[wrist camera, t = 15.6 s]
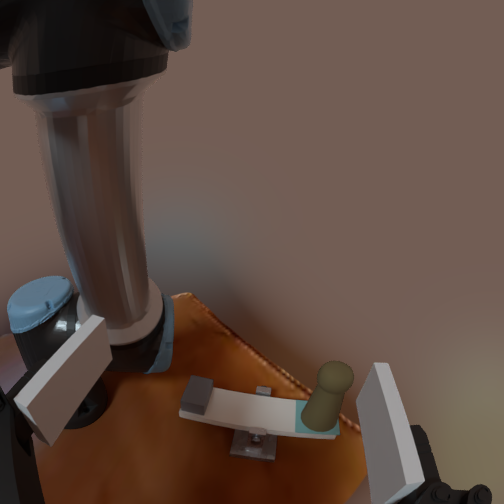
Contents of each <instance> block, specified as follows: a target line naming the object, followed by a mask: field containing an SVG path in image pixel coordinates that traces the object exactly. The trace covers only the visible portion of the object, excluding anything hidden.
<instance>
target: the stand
mask: <svg viewBox="0 0 504 504" xmlns="http://www.w3.org/2000/svg"><path fill="white" fill-rule="evenodd" d="M270 394H271V388H267V387H266V386H261V387H260V386H257V389H256V395H259V396H266V397H270ZM276 444H277V435H273V434H266V429H263V428H256V427H250V430H249V431H245V430H239V429H235V432H234V437H233V441H232V445H231V450H230V455H229V456H232V457H238V458H244V459H250V460H257V461H265V462H274V461H275V454H276Z"/></svg>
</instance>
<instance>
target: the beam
mask: <svg viewBox="0 0 504 504" xmlns="http://www.w3.org/2000/svg"><path fill="white" fill-rule="evenodd" d="M307 402H308V401H303V400H290V399H281V398H274V397H266V396H259V395H253V394H247V393H241V392H235V391H229V390H224V389H219V388H214V387H213V379H208V378H203V377H199V376H194V375H191V377H190V380H189V382H188V384H187V387H186V389H185V391H184V394H183V396H182V398H181V409H180V411H179V417H182V418H186V419H190V420H195V421H199V422H203V423H208V424H213V425H217V426H223V427H228V428H233V429H239V430H245V431H249V430H250V427H256V428H263V429H266V434H273V435H282V436H292V437H303V438H318V439H335V437H336V436H337V435H340V429H339V419H338V420H337V424H336V426H335V427H334V428H333V429H331V430H329V431H326V432H316V431H313V430H310V429H309V428H307V427H306V426H305V425H304V424H303V423H302V420H301V412H302V410H303V409H304V407H305V405H306V404H307Z"/></svg>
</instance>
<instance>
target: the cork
mask: <svg viewBox="0 0 504 504" xmlns="http://www.w3.org/2000/svg"><path fill="white" fill-rule="evenodd" d="M353 380H354V374H353V371H352V369H351V367H350V366H348V365H347V364H345V363H343V362H340V361H329V362H327V363H325V364H324V365H323V366H322V367H321V368H320V369H319V372H318V374H317V383H318V384H317V386H316V388H315V390H314V391H313V393H312V395H311V397H310V398H309V400H308V402H307V404H306V405H305V407H304V409H303V410H302V412H301V420H302V423H303V424H304V425H305V426H306V427H307V428H309V429H310V430H313V431H316V432H326V431H329V430H331V429H333V428H334V427H335V426H336V424H337V420H338V417H339V413H340V409H341V405H342V402H343V398H344V394H345V392H346V391H347V390H348V389H349V388H350V387H351V386H352V384H353Z"/></svg>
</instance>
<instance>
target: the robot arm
mask: <svg viewBox="0 0 504 504" xmlns="http://www.w3.org/2000/svg"><path fill="white" fill-rule="evenodd" d="M192 7H193V0H0V69H2V68H6V67H9V66H12V75H13V92H14V96H15V98H17V99H18V100H20V101H21V102H23V103H24V104H26V105H27V106H29V107H31V108H32V109H33V110H34V112H35V119H36V127H37V135H38V142H39V148H40V154H41V160H42V165H43V171H44V176H45V181H46V185H47V190H48V194H49V198H50V202H51V207H52V210H53V214H54V218H55V222H56V225H57V229H58V232H59V235H60V239H61V242H62V245H63V248H64V251H65V255H66V257H67V260H68V263H69V266H70V269H71V272H72V275H73V277H74V280H75V283H76V285H77V288H78V291H79V292H74V291H73V290H74V287H73V285H72V284H71V282H70V280H69V279H66V278H65V277H62V276H49V277H43V278H39V279H37V280H34V281H31V282H29V283H27V284H25V285H24V286H22V287H21V288H19V289H18V290H17V291H16V292H15V293H14V294H13V295H12V296H11V298H10V300H9V302H8V306H7V311H8V316H9V320H10V324H11V326H10V327H11V330H12V332H13V335H14V338H15V340H16V343H17V346H18V348H19V351H20V353H21V356H22V358H23V361H24V363H25V365H26V368H27V370H28V371H27V372H26V373H25V374H24V376H23V377H21V379H20V380H19V381H18V382H17V383H16V384H15V385H14V386H13V387H12V388H11V390H10V391H9V392H8V393H7V394H6V395H5V394H4V392H3V390H2V388H1V387H0V504H45V501H44V497H43V493H42V489H41V484H40V480H39V475H38V470H37V465H36V459H35V453H34V446H33V440H32V437H31V435H32V433H33V432H34V433H35V435H36V436H37V438H38V439H39V440H41V441H42V442H44V443H46V444H47V445H49V446H52V445H53V443H54V442H55V440H56V439H57V437H58V436H59V434H60V433H61V431H62V430H63V429H76V428H81V427H84V426H87V425H89V424H91V423H92V422H94V421H95V420H97V419H98V418H99V417H100V416H101V414H102V413H103V411H104V410H105V408H106V405H107V392H106V389H105V385H104V383H103V380H102V379H101V377H100V376H101V374H102V373H103V371H117V372H139V373H144V374H149V373H153V372H164V371H166V370H167V369H168V368H169V367H170V364H171V361H172V354H173V344H172V343H173V338H174V304H173V300H172V298H171V297H170V296H168V295H164V294H162V293H160V291H159V289H158V287H157V286H156V284H155V283H154V282H153V281H152V280H151V279H150V278H148V273H147V272H148V271H147V261H146V250H145V236H144V221H143V199H142V116H143V114H142V113H143V96H144V93H145V91H146V90H147V89H148V88H149V87H150V86H151V85H153V84H154V83H155V82H156V81H157V80H158V79H159V78H161V76H163V75H164V74H165V73H166V68H167V60H168V52H169V50H170V51H175V52H177V51H178V50H181V49H185V48H187V47H188V46H189V45H190V40H191V22H192ZM356 404H357V410H358V416H359V421H360V427H361V432H362V438H363V444H364V451H365V457H366V464H367V471H368V478H369V486H370V494H371V502H372V504H491V501H492V494H491V491H490V489H489V488H488V487H487V486H485V485H482V484H480V485H476V486H474V487H473V488H472V489H470V490H469V491H466V490H453V489H451V487H450V486H449V485H448V484H446V483H444V482H441V479H440V477H439V473H438V470H437V466H436V463H435V460H434V456H433V453H432V452H431V447H430V445H429V441H428V438H427V435H426V433H425V432H424V430H423V429H422V428H421V426H420V425H411V426H409V423H408V419H407V417H406V413H405V410H404V407H403V404H402V401H401V398H400V395H399V392H398V390H397V387H396V384H395V381H394V378H393V375H392V373H391V370H390V367H389V364H388V363H374V364H373V366H372V368H371V370H370V372H369V375H368V377H367V379H366V381H365V383H364V385H363V387H362V390H361V391H360V394H359V396H358V398H357V400H356Z"/></svg>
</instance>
